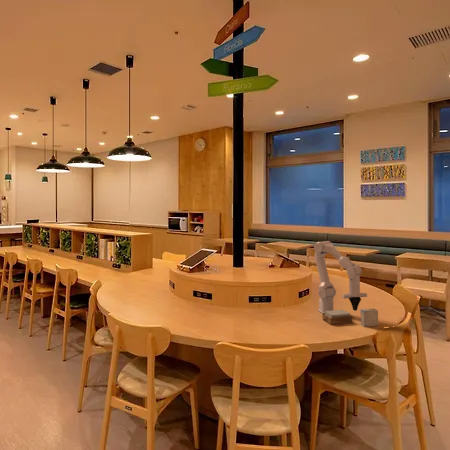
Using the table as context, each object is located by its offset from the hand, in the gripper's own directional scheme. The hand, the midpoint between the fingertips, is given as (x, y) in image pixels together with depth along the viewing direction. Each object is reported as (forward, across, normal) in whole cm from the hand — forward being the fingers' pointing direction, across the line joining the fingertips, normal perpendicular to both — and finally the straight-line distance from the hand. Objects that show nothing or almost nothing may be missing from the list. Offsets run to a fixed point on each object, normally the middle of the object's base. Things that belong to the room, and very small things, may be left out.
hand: (355, 310), depth 205 cm
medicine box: (+6, +2, -11) cm, 13 cm away
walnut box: (+6, -11, 0) cm, 12 cm away
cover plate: (+2, -11, 0) cm, 11 cm away
